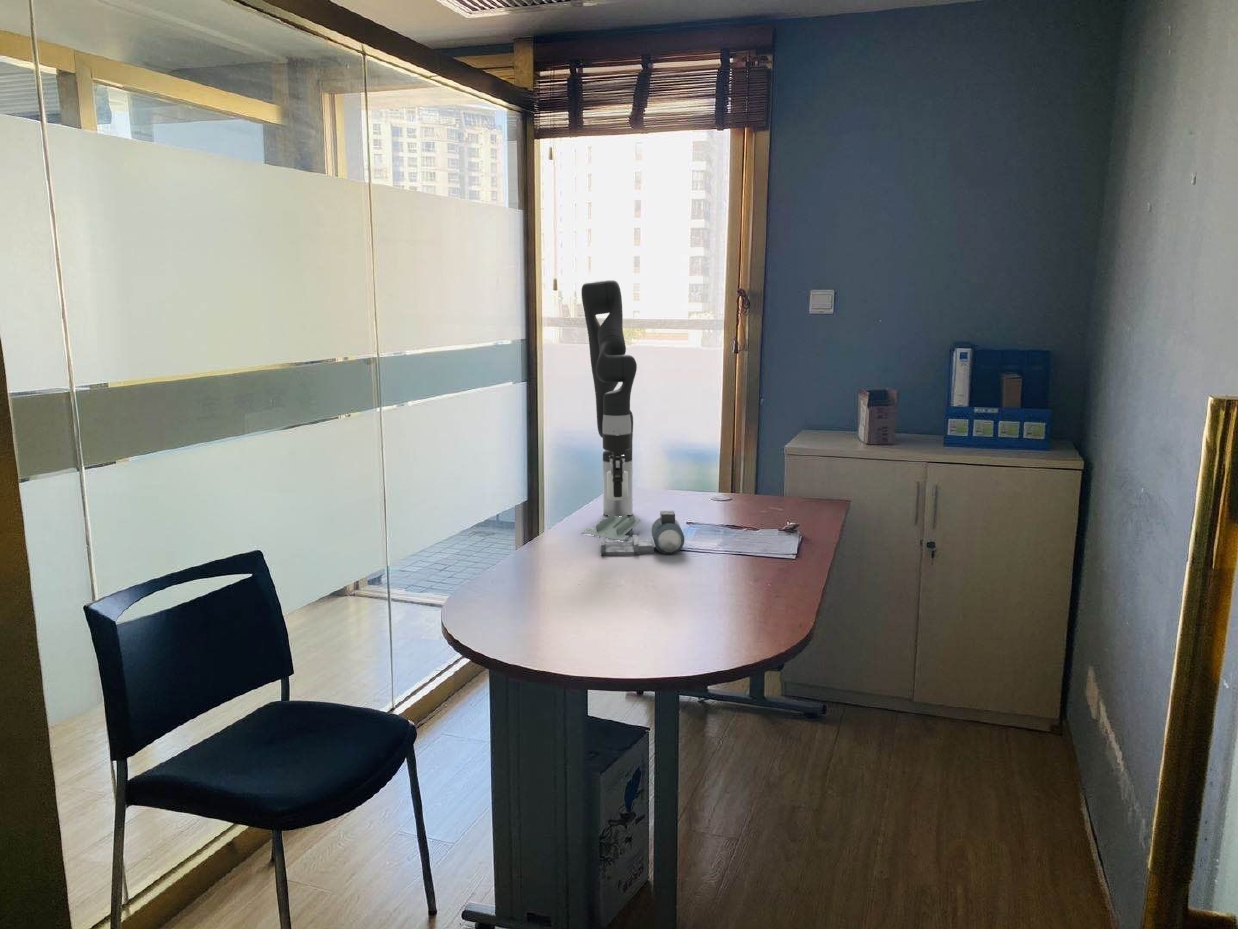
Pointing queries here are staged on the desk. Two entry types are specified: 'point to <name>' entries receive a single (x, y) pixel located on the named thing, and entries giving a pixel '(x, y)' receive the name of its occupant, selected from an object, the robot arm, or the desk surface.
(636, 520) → the metal bracket
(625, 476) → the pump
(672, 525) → the motor
